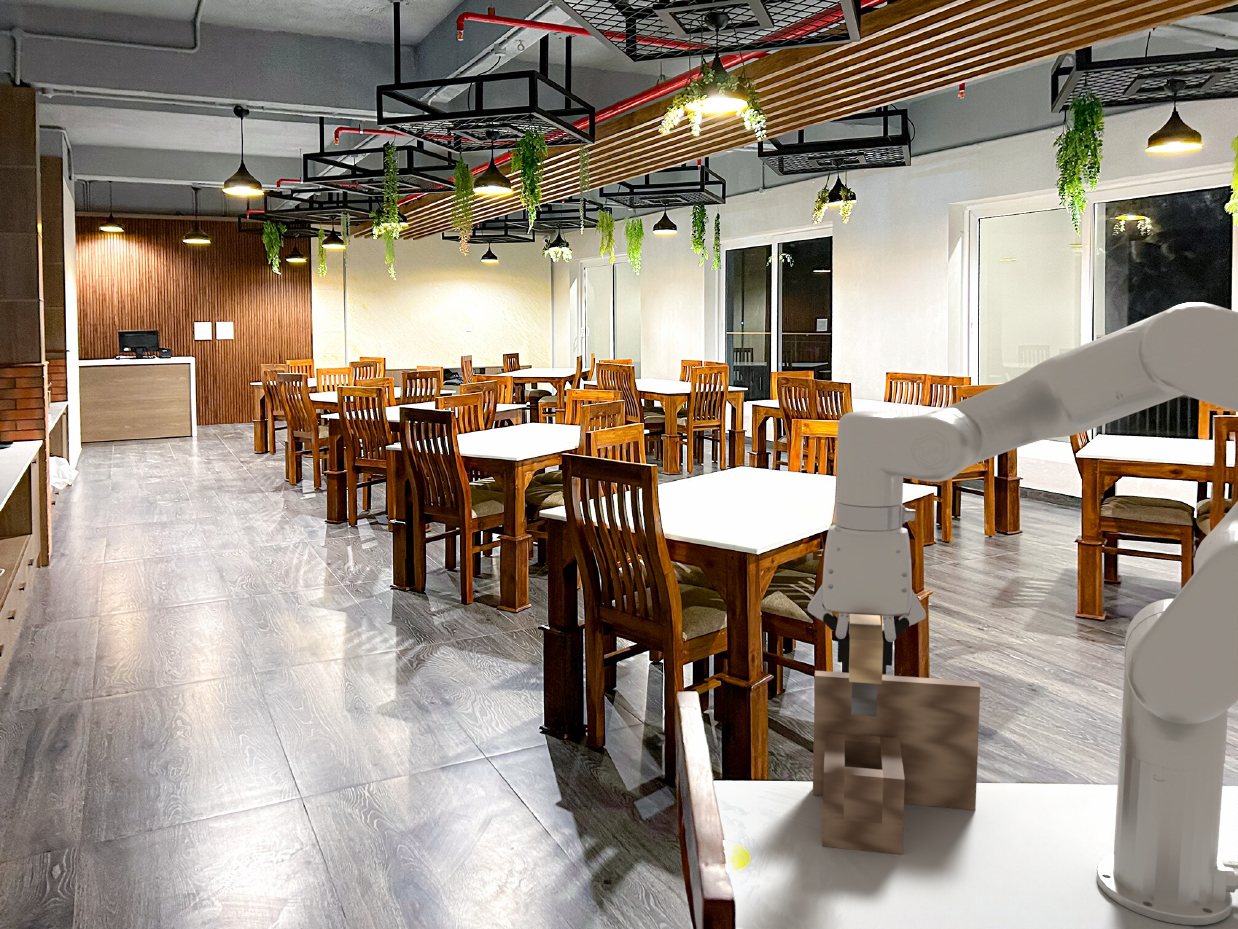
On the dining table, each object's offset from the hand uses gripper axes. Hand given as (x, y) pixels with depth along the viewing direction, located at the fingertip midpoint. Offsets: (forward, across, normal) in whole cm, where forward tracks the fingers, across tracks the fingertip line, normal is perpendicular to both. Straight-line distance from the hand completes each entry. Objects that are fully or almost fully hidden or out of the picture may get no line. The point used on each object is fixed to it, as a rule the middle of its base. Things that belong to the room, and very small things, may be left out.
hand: (864, 668), depth 117 cm
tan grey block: (+5, 0, 0) cm, 5 cm away
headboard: (+20, -4, -1) cm, 20 cm away
